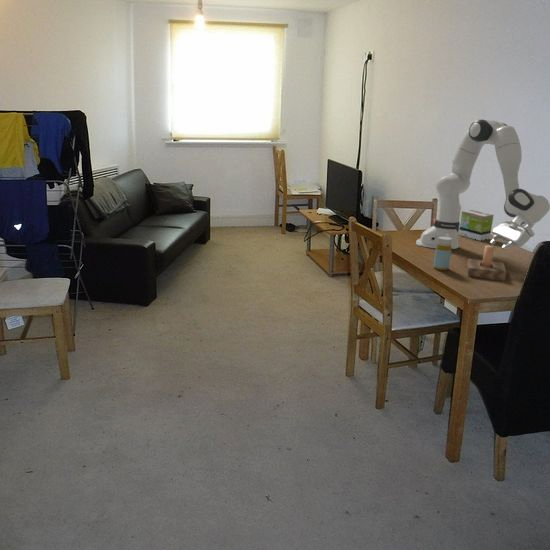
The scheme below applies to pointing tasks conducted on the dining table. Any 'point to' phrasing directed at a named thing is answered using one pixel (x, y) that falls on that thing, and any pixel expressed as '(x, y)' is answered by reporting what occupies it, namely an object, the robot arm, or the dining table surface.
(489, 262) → the peg
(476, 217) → the tea box
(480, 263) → the socket block
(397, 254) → the dining table surface
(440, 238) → the bottle
